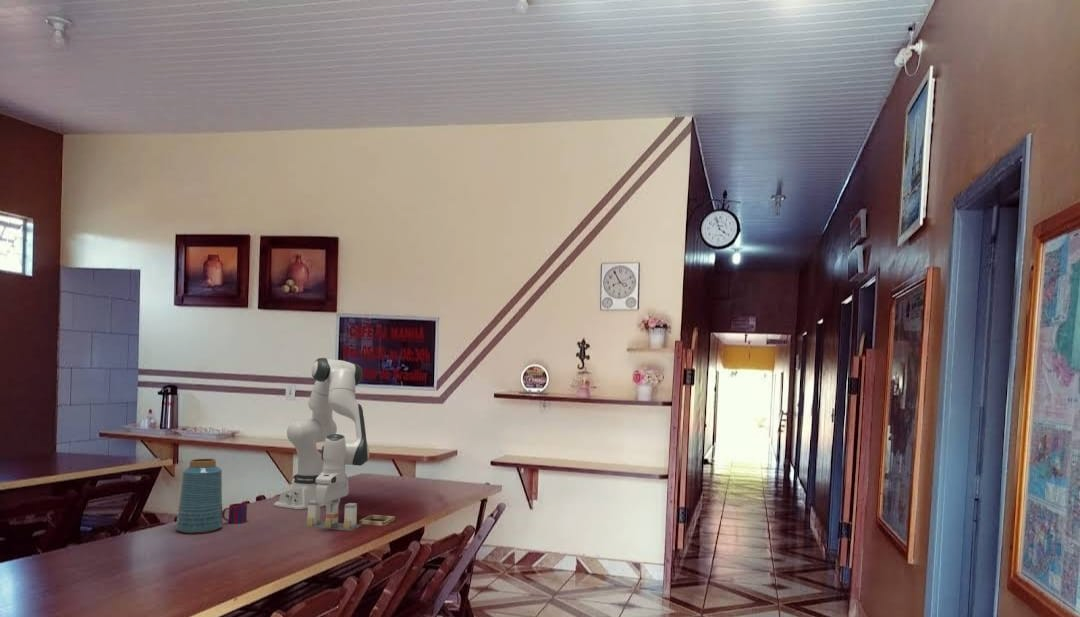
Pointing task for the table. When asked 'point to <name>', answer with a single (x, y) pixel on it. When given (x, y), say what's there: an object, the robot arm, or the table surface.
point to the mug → (236, 513)
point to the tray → (387, 520)
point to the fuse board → (330, 525)
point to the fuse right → (351, 514)
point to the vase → (200, 497)
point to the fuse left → (314, 511)
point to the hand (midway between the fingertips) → (332, 511)
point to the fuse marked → (333, 513)
